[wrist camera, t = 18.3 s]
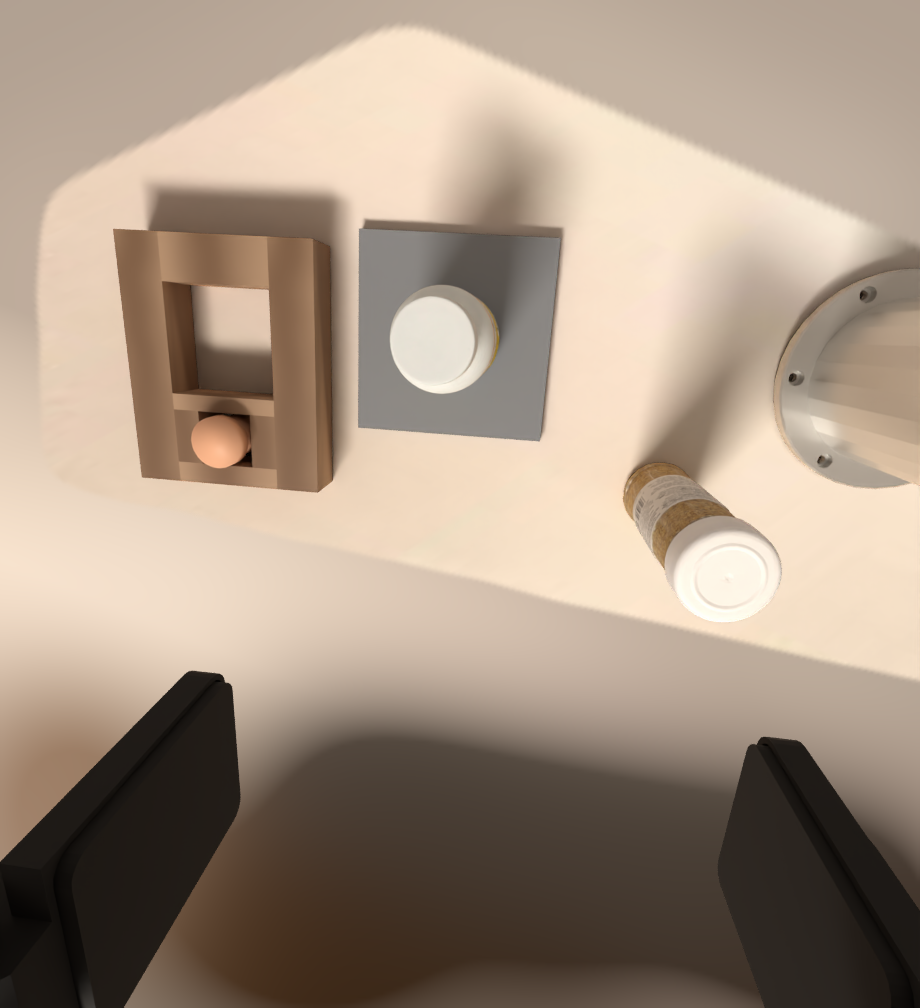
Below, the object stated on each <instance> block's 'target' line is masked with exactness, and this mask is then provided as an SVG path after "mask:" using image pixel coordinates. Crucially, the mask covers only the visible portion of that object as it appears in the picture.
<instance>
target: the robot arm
mask: <svg viewBox="0 0 920 1008" xmlns="http://www.w3.org/2000/svg"><path fill="white" fill-rule="evenodd" d="M861 292H862V293H863V297H862V299H860V293H861ZM791 373H792V374H793V379H792V380H791V381H789V376H790V374H791ZM773 403H774V411H775V419H776V423H777V425H778V428H779V431H780V434H781V437H782V439H783V440H784V442H785V443H786V445H787V446H788V448H789V450H790V451H791V453H792V454H793V455H794V456H795V457H796V458H797V459H798V460H799V461H800V462H801V463H802V464H803V465H804V466H806V467H808V468H809V469H811V470H812V471H814V472H815V473H817V474H819V475H820V476H823V477H825V478H827V479H830V480H832V481H834V482H836V483H840V484H844V485H847V486H851V487H856V488H868V489H880V488H891V487H898V486H902V485H906V484H910V483H913V484H916V485H918V486H920V268H912V269H901V270H895V271H889V272H884V273H880V274H877V275H874V276H871V277H868V278H865V279H862V280H859V281H857V282H856V283H854V284H852V285H850V286H848V287H846V288H844V289H842V290H840V291H838V292H837V293H836V294H834V295H833V296H832V297H830V298H829V299H828V300H826V301H825V302H824V303H822V304H821V305H819V306H818V308H817V309H816V310H815V311H814V312H813V313H812V314H811V315H810V316H809V317H808V318H807V319H806V320H805V321H804V322H803V323H802V324H801V326H800V327H799V329H798V330H797V332H796V333H795V334H794V336H793V337H792V339H791V340H790V342H789V344H788V346H787V348H786V350H785V352H784V354H783V356H782V358H781V361H780V364H779V368H778V371H777V375H776V379H775V384H774V398H773ZM820 456H821V459H820V460H819V461H818V462H817V460H818V458H819V457H820ZM239 805H240V784H239V770H238V757H237V744H236V730H235V717H234V704H233V691H232V686H231V685H230V684H229V683H225V680H224V677H223V676H222V675H221V674H216V673H208V672H198V671H189V672H187V673H186V674H185V675H184V676H183V677H182V678H181V679H180V680H179V681H178V682H177V683H176V684H175V685H174V686H173V687H172V688H171V689H170V690H169V691H168V692H167V693H166V694H165V695H164V696H163V697H162V698H161V699H160V700H159V701H158V702H157V703H156V704H155V705H154V706H153V707H152V708H151V709H150V710H149V711H148V712H147V713H146V714H145V715H144V716H143V717H142V718H141V719H140V720H139V721H138V722H137V723H136V724H135V725H134V726H133V727H132V729H130V730H129V732H128V733H127V734H126V735H125V736H124V737H123V738H122V739H121V740H120V741H119V742H118V743H117V744H116V745H115V746H114V747H113V748H112V749H111V750H110V751H109V752H108V753H107V754H106V755H105V756H104V757H103V758H102V759H101V760H100V761H99V762H98V763H97V764H96V765H95V766H94V767H93V768H92V769H91V770H90V771H89V772H88V773H87V774H86V775H85V776H84V777H83V778H82V779H81V780H80V781H79V782H78V783H77V784H76V785H75V786H74V787H73V788H72V789H71V790H70V791H69V793H67V794H66V796H64V798H63V799H62V800H61V801H60V802H59V803H58V804H57V805H56V806H55V807H54V808H53V809H52V810H51V811H50V812H49V813H48V814H47V815H46V816H45V817H44V818H43V819H42V820H41V821H40V822H39V823H38V824H37V825H36V826H35V827H34V828H33V829H32V830H31V831H30V832H29V833H28V834H27V835H26V836H25V837H24V838H23V839H22V840H21V841H20V842H19V843H18V844H17V845H16V846H15V847H14V848H13V849H12V850H11V851H10V852H9V854H7V855H6V857H5V858H4V859H3V860H2V861H1V862H0V1008H124V1006H125V1004H126V1003H127V1001H128V999H129V998H130V996H131V994H132V993H133V991H134V989H135V987H136V986H137V984H138V982H139V981H140V979H141V977H142V975H143V974H144V972H145V970H146V969H147V967H148V965H149V964H150V962H151V960H152V958H153V957H154V955H155V953H156V952H157V950H158V948H159V946H160V945H161V943H162V942H163V940H164V938H165V936H166V934H167V933H168V931H169V930H170V928H171V926H172V925H173V923H174V921H175V919H176V918H177V916H178V914H179V913H180V911H181V909H182V907H183V906H184V904H185V902H186V901H187V899H188V897H189V896H190V894H191V892H192V890H193V889H194V887H195V885H196V884H197V882H198V880H199V878H200V877H201V875H202V873H203V872H204V870H205V868H206V867H207V865H208V863H209V862H210V860H211V858H212V856H213V854H214V853H215V851H216V850H217V848H218V846H219V844H220V843H221V841H222V839H223V838H224V836H225V834H226V833H227V831H228V829H229V827H230V826H231V824H232V822H233V821H234V819H235V817H236V814H237V812H238V809H239ZM718 876H719V881H720V885H721V888H722V891H723V893H724V896H725V899H726V902H727V905H728V907H729V910H730V913H731V916H732V918H733V921H734V924H735V926H736V929H737V932H738V935H739V937H740V940H741V943H742V946H743V949H744V951H745V954H746V957H747V960H748V962H749V965H750V968H751V971H752V973H753V976H754V979H755V981H756V984H757V987H758V990H759V993H760V995H761V998H762V1001H763V1004H764V1006H765V1008H920V910H919V909H918V907H917V906H916V904H915V903H914V902H913V900H912V899H911V898H910V896H909V894H908V893H907V892H906V890H905V889H904V887H903V886H902V885H901V883H900V881H899V880H898V879H897V877H896V876H895V874H894V873H893V871H892V870H891V869H890V867H889V866H888V864H887V863H886V861H885V860H884V858H883V857H882V856H881V854H880V853H879V851H878V850H877V849H876V847H875V846H874V845H873V843H872V842H871V841H870V840H869V839H868V837H867V836H866V835H865V833H864V832H863V830H862V829H861V828H860V826H859V825H858V823H857V822H856V820H855V819H854V817H853V816H852V814H851V813H850V811H849V810H848V809H847V807H846V806H845V804H844V803H843V801H842V800H841V798H840V797H839V795H838V794H837V793H836V791H835V790H834V788H833V787H832V785H831V784H830V782H829V781H828V780H827V778H826V777H825V775H824V774H823V772H822V771H821V770H820V768H819V767H818V765H817V764H816V762H815V761H814V759H813V758H812V756H811V755H810V753H809V752H808V751H807V749H806V748H805V746H804V745H803V744H802V743H801V742H799V741H797V740H788V739H780V738H771V737H761V738H760V740H759V741H758V743H757V745H755V744H752V745H750V746H749V747H748V749H747V752H746V756H745V759H744V763H743V767H742V771H741V775H740V779H739V783H738V787H737V790H736V794H735V798H734V802H733V806H732V810H731V813H730V818H729V821H728V825H727V829H726V833H725V837H724V841H723V845H722V848H721V852H720V856H719V860H718Z"/></svg>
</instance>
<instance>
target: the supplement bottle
mask: <svg viewBox="0 0 920 1008" xmlns="http://www.w3.org/2000/svg"><path fill="white" fill-rule="evenodd" d="M390 348H391V352H392V356H393V359H394V361H395V364H396V366H397V367H398V369H399V371H400V372H401V373H402V375H403V376H404V377H405V378H406V379H407V380H408V381H409V382H411V383H412V384H413V385H415V386H416V387H418V388H420V389H422V390H425V391H428V392H431V393H438V394H446V393H453V392H457V391H460V390H462V389H465V388H466V387H468V386H470V385H471V384H473V383H474V382H475V381H476V380H477V379H478V378H479V377H480V376H482V375H483V373H485V372H486V371H487V369H488V368H489V367H490V366H491V365H492V363H493V361H494V359H495V357H496V355H497V352H498V348H499V329H498V325H497V322H496V319H495V317H494V315H493V314H492V312H491V311H490V309H489V308H488V307H487V306H486V305H485V304H484V303H483V302H482V301H481V300H479V299H478V298H476V297H475V296H473V295H472V294H470V293H469V292H467V291H465V290H463V289H461V288H458V287H454V286H450V285H434V286H429V287H426V288H423V289H420V290H418V291H417V292H415V293H413V294H412V295H411V296H409V297H408V298H407V299H406V300H405V301H404V302H403V303H402V305H401V306H400V307H399V309H398V310H397V312H396V314H395V316H394V318H393V321H392V325H391V330H390Z"/></svg>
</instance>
